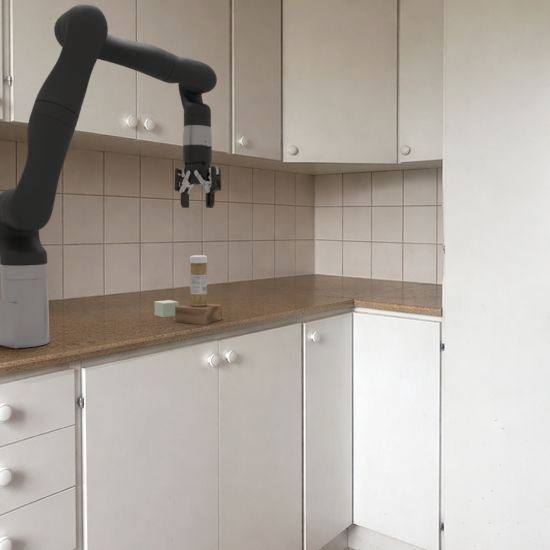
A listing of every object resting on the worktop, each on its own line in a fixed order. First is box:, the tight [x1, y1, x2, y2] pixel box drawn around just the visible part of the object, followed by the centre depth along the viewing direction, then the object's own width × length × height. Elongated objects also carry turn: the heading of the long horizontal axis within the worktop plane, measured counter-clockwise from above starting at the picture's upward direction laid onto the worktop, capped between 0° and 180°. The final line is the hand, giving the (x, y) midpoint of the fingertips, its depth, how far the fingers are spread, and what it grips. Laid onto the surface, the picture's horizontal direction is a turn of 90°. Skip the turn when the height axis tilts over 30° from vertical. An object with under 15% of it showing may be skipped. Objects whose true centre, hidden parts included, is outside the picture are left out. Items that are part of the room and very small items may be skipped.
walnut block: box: [174, 303, 223, 326], centre depth 156 cm, size 9×9×4 cm
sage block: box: [153, 299, 180, 318], centre depth 164 cm, size 5×5×4 cm
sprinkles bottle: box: [189, 254, 208, 307], centre depth 155 cm, size 5×5×14 cm
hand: (197, 207), depth 153 cm, fingers open, 8 cm apart
